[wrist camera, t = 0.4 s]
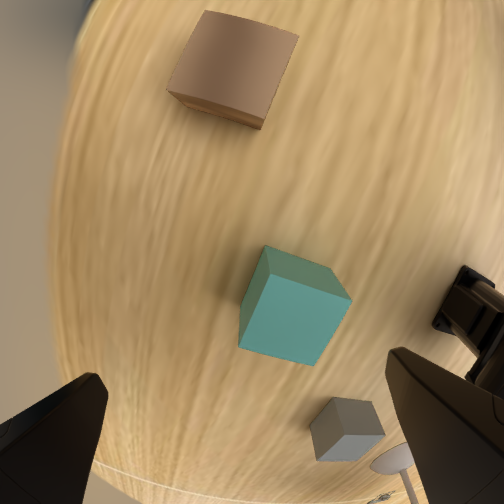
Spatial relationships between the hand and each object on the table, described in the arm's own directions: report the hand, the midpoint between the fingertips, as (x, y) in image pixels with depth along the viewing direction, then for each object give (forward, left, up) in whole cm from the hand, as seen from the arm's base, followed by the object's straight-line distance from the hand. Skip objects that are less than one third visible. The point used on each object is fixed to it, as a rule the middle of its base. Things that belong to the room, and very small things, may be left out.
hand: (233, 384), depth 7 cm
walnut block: (+4, -10, -13) cm, 17 cm away
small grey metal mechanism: (-52, +47, -13) cm, 71 cm away
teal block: (-4, +2, -13) cm, 13 cm away
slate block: (-16, +14, -13) cm, 24 cm away
